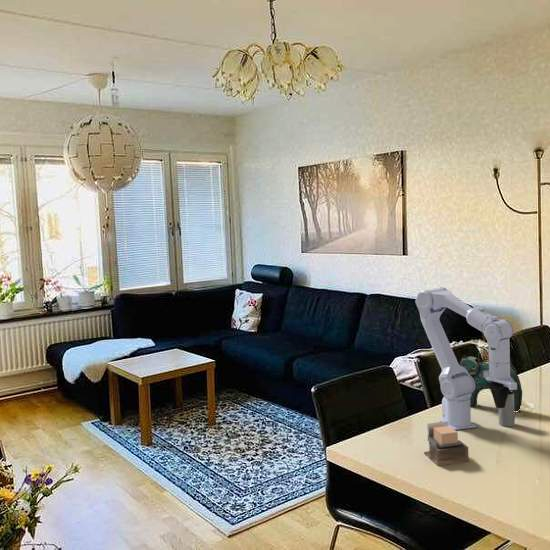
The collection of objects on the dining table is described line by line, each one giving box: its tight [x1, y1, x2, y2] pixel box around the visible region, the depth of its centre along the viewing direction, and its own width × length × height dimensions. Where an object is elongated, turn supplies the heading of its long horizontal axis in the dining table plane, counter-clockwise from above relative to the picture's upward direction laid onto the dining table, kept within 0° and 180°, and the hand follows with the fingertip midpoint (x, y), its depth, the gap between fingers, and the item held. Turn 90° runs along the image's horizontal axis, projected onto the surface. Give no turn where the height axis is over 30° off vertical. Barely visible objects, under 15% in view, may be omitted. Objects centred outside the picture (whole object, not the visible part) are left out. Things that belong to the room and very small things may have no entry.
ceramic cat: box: [458, 349, 523, 411], centre depth 198 cm, size 20×6×20 cm, turn 56°
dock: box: [423, 439, 470, 467], centre depth 160 cm, size 8×9×4 cm
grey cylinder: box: [498, 391, 516, 428], centre depth 182 cm, size 4×4×10 cm
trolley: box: [426, 421, 461, 449], centre depth 161 cm, size 8×6×6 cm
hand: (500, 407), depth 171 cm, fingers closed
